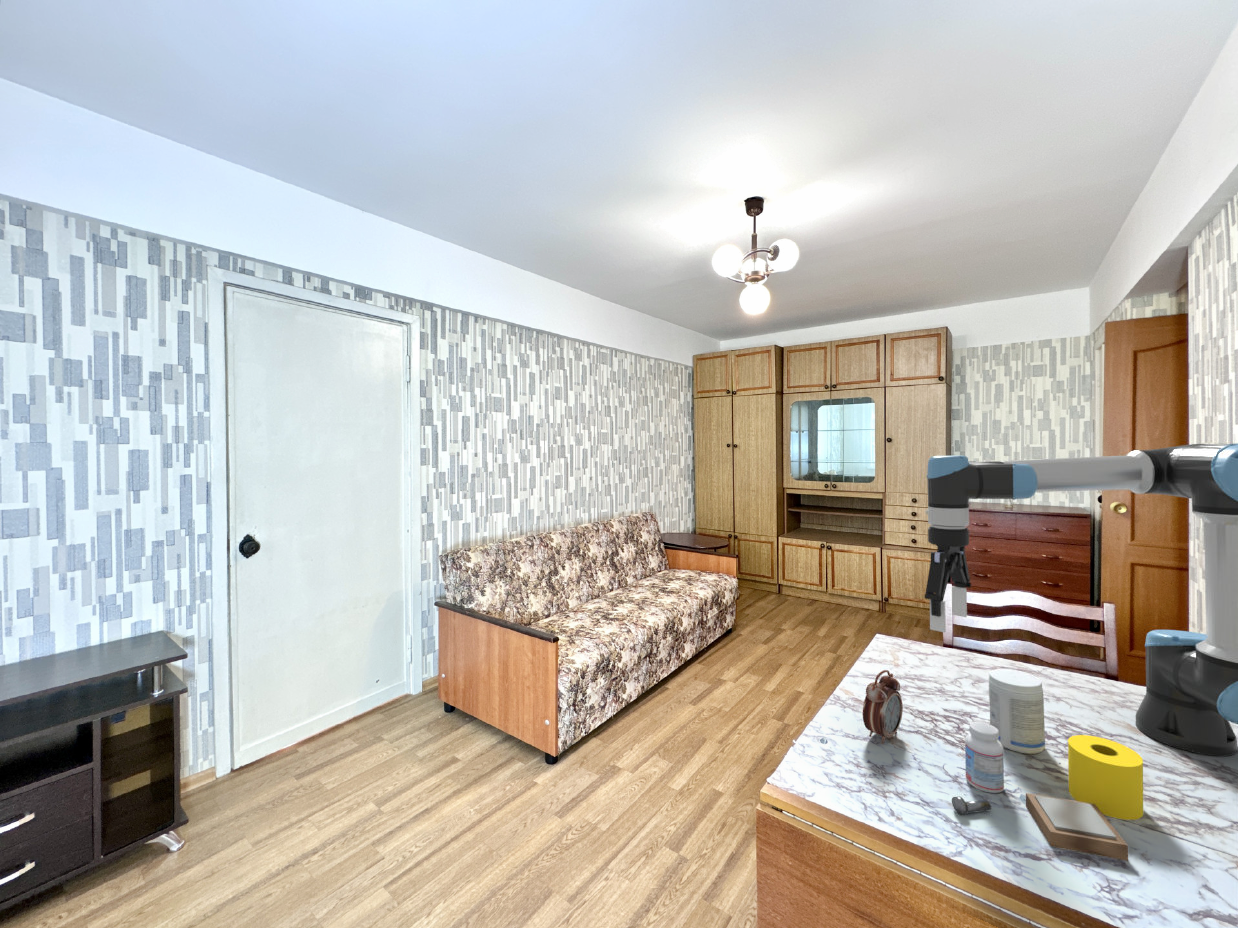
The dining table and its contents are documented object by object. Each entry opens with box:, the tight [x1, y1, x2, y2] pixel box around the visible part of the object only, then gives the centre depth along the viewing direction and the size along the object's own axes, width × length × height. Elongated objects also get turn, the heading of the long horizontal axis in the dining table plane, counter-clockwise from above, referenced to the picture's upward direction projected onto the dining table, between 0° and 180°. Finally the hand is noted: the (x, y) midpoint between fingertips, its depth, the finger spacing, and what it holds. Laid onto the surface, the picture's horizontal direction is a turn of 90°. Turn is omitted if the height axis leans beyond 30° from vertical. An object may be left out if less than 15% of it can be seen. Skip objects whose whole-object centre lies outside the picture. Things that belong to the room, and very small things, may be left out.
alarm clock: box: [862, 669, 904, 745], centre depth 118 cm, size 11×5×15 cm, turn 128°
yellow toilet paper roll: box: [1067, 734, 1144, 821], centre depth 95 cm, size 10×10×9 cm
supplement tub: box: [988, 668, 1046, 755], centre depth 113 cm, size 10×10×15 cm
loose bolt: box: [951, 795, 992, 815], centre depth 93 cm, size 6×3×3 cm, turn 95°
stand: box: [1025, 792, 1129, 862], centre depth 88 cm, size 10×10×3 cm
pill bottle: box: [964, 721, 1005, 794], centre depth 100 cm, size 6×6×11 cm
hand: (949, 622), depth 113 cm, fingers open, 13 cm apart
